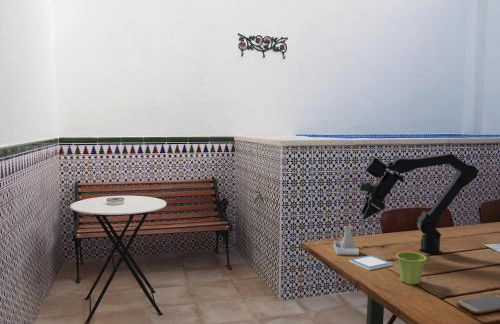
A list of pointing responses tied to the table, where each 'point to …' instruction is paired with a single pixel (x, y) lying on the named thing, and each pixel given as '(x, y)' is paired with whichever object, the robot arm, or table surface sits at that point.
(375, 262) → the white tile
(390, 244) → the table surface
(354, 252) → the grey u-shaped bracket
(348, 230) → the flask
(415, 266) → the plant pot
